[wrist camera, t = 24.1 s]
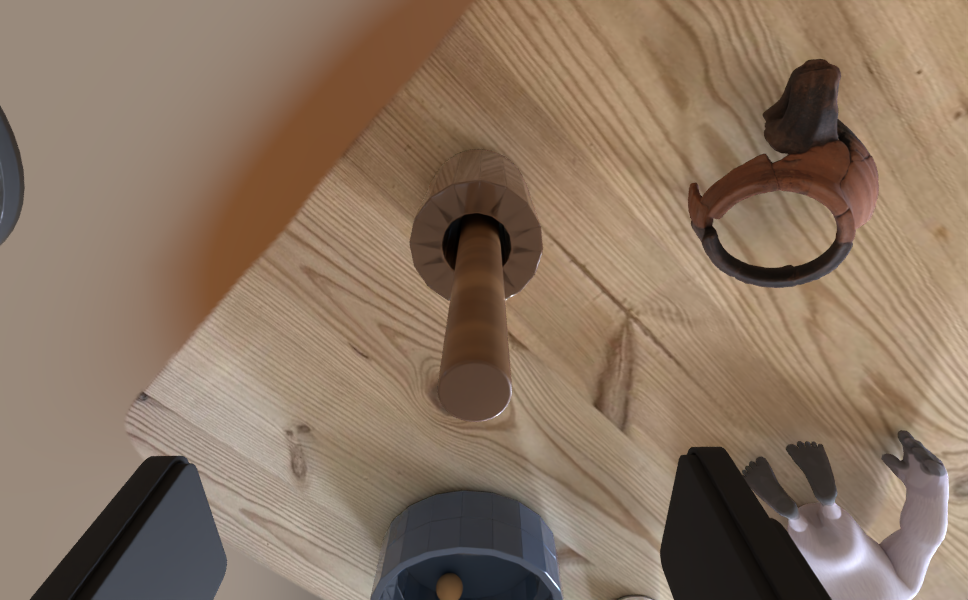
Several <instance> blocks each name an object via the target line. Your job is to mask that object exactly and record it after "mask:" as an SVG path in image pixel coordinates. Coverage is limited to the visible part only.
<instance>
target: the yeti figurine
mask: <svg viewBox="0 0 968 600" xmlns="http://www.w3.org/2000/svg"><path fill="white" fill-rule="evenodd" d="M898 438H899V440H900V442H901V443H902V445H903V452H904V456H903V460H902V461H900V460H899V459H898V458H897V457H895V456H894V455H891V454H884V455H882V460H883V462H884V463H885V464H886V465H887V466H888V467H889V468H890V469H891V470H892V472H893V473H894V474H895V475H896V476H897V477H898V478H899V479H900V480H901V481H902V482H903V483H904V485H905V486H906V501H905V503H904V506H903V509H902V511H901V515H900V527H901V529H899V530H897V531H896V532H894V533H892V534H891V535H890V536H888V537H887V538H885V539H884V540H883V541H882V542H881V543H880V544H878V543H877V542H876V541H874V540H873V539H872V538H870V537H869V536H868V535H866V533H865V532H864V531H863V530H862V528H861V527H860V526H859V524H858V523H857V522H856V521H855V520H854V518H853V517H852V516H851V515H850V514H849V513H848V512H847V511H846V510H844V509H843V508H841V507H840V506H838V505H837V504H836V503H835V498H836V496H837V489H836V485H835V480H834V476H833V473H832V469H831V466H830V463H829V460H828V457H827V455H826V452H825V450H824V447H823V445H822V444H818V447H817V444H816V442H812V443H811V444H810V443H809V442H807V441H806V442H805V445H804V443H803V442H801V441H798V442H797V446H798V447H799V448H798V447H797V446H796V445H793V444H790V445H788V446H787V447H786V450H787V452H788V454H789V455H790V456H791V457H792V459H793V460H794V462H795V463H796V464H797V465H798V466H799V467H800V469H801V470H802V471H803V472H804V474H805V476H806V478H807V480H808V482H809V484H810V486H811V488H812V490H813V493H814V495H815V497H816V499H817V500H818V501H819V502H820V503H808V504H804V505H802V506H801V507H799V508H797V505H796V503H795V502H794V501H793V500H792V499H791V498H790V497H789V496H788V494H787V493H786V492H785V491H784V489H783V488H782V487H781V485H780V484H779V483H778V481H777V479H776V477H775V474H774V472H773V470H772V468H771V467H770V465H769V463H768V462H767V460H766V459H765V458H763V457H758V458H757V459H756V464H757V465H756V464H755V462H753V461H750V462H749V466H750V467H751V468H752V469H751V468H750V467H749V466H746V467H745V469H746V470H747V471H745V470H743V471H742V473H743V474H744V475H745V476H746V477H745V476H744V475H742V476H743V477H744V479H745V481H746V482H747V484H748V485H749V487H750V488H751V489H752V490H753V491H754V492H755V493H756V494H757V495H758V496H759V497H760V498H761V499H762V500H763V501H765V502H766V503H767V504H768V505H769V506H770V507H771V508H773V509H774V510H775V511H776V512H777V513H779V514H780V515H781V516H784V517H787V518H788V528H787V530H788V534H789V535H790V537H791V538H792V540H793V541H794V543H795V544H796V546H797V547H798V549H799V550H800V552H801V553H802V555H803V556H804V558H805V559H806V561H807V562H808V564H809V565H810V567H811V569H812V570H813V572H814V573H815V575H816V576H817V578H818V579H819V581H820V582H821V584H822V585H823V587H824V588H825V590H826V591H827V593H828V594H829V596H830V597H831V599H832V600H911V599H912V598H913V597H914V596H915V595H916V594H917V593H918V591H919V590H920V588H921V586H922V583H923V580H924V576H925V573H926V570H927V568H928V565H929V562H930V559H931V557H932V555H933V554H934V553H935V551H936V549H937V548H938V546H939V545H940V544H941V542H942V541H943V540H944V537H945V534H946V530H947V509H948V494H949V485H948V475H947V471H946V469H945V467H944V465H943V463H942V461H941V460H939V459H938V458H937V457H936V456H935V455H934V454H932V453H931V452H930V451H929V450H928V449H926V448H925V447H924V446H923V445H922V443H921V442H919V441H917V440H915V439H914V438H913V436H912V435H911V434H910V433H909V432H907V431H902V430H901V431H899V432H898ZM811 445H812V446H811ZM805 446H806V447H805Z"/></svg>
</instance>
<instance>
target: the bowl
mask: <svg viewBox="0 0 968 600" xmlns="http://www.w3.org/2000/svg"><path fill="white" fill-rule="evenodd" d="M446 573H454V574H456V575H457V576H458V577H459V578H460V579H461V581H462V584H463V592H462V595H461V597H460V598H459V599H458V600H564V596H563V590H562V583H561V576H560V569H559V562H558V555H557V549H556V545H555V541H554V536H553V533H552V531H551V530H550V529H549V527H548V526H547V525H546V523H545V522H544V521H543V519H542V518H541V517H540V516H539V515H538V514H537V513H535V512H534V511H532V510H531V509H529V508H528V507H526V506H525V505H523V504H522V503H520V502H518V501H517V500H513V499H510V498H507V497H504V496H501V495H498V494H495V493H491V492H477V491H462V490H461V491H455V492H449V493H443V494H437V495H433V496H431V497H429V498H426V499H424V500H422V501H420V502H417V503H415V504H413V505H411V506H409V507H408V508H406V509H405V510H404V511H403V512H402V513H401V514H400V515H398V516H397V517H396V518H395V519H394V520H393V521H392V522H391V524H390V526H389V528H388V530H387V532H386V534H385V536H384V538H383V542H382V546H381V551H380V556H379V560H378V565H377V570H376V575H375V579H374V584H373V588H372V593H371V598H370V600H440V599H439V598H438V596H437V593H436V585H437V582H438V580H439V578H440V577H441V576H442V575H444V574H446Z"/></svg>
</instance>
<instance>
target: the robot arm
mask: <svg viewBox="0 0 968 600" xmlns="http://www.w3.org/2000/svg"><path fill="white" fill-rule="evenodd" d="M660 557H661V564H662V568H663V571H664V574H665V577H666V579H667V582H668V585H669V587H670V590H671V593H672V596H673V598H674V600H832V599H831V597H830V596H829V594H828V593H827V591H826V590H825V588H824V587H823V585H822V584H821V582H820V581H819V579H818V578H817V576H816V575H815V573H814V572H813V570H812V569H811V567H810V565H809V564H808V562H807V561H806V559H805V558H804V556H803V555H802V553H801V552H800V550H799V549H798V547H797V546H796V544H795V543H794V541H793V540H792V538H791V537H790V535H789V534H788V532H787V531H786V529H785V528H784V527H783V526H782V525H781V523H779V522H778V521H777V520H775V519H773V518H769V516H768V515H767V513H766V512H765V510H764V509H763V507H762V505H761V504H760V502H759V501H758V499H757V498H756V496H755V495H754V493H753V491H752V490H751V488H750V487H749V485H748V484H747V482H746V481H745V479H744V477H743V476H742V474H741V473H740V471H739V470H738V468H737V466H736V465H735V463H734V462H733V460H732V459H731V457H730V456H729V454H728V452H727V451H726V450H725V449H724V448H722V447H691V448H690V449H689V450H688V453H687V455H681V456H680V458H679V462H678V466H677V471H676V476H675V481H674V486H673V491H672V495H671V500H670V505H669V510H668V515H667V520H666V524H665V529H664V534H663V539H662V544H661V549H660ZM226 566H227V559H226V555H225V552H224V549H223V546H222V543H221V540H220V537H219V534H218V531H217V528H216V525H215V522H214V519H213V516H212V513H211V510H210V507H209V504H208V501H207V498H206V495H205V492H204V489H203V486H202V483H201V480H200V477H199V474H198V471H197V468H196V466H195V465H194V464H191V463H189V462H188V460H187V458H185V457H184V456H151V457H149V458H147V459H146V460H145V461H144V462H143V463H142V464H141V465H140V466H139V468H138V469H137V470H136V471H135V473H134V474H133V475H132V476H131V477H130V479H129V480H128V481H127V482H126V484H125V485H124V486H123V487H122V488H121V490H120V491H119V492H118V493H117V494H116V496H115V497H114V498H113V499H112V500H111V502H110V503H109V504H108V505H107V506H106V508H105V509H104V510H103V511H102V512H101V514H100V515H99V516H98V517H97V519H96V520H95V521H94V522H93V524H92V525H91V526H90V527H89V528H88V529H87V531H86V532H85V533H84V534H83V536H82V537H81V538H80V539H79V540H78V542H77V543H76V544H75V545H74V546H73V548H72V549H71V550H70V552H69V553H68V554H67V555H66V556H65V558H64V559H63V560H62V561H61V562H60V563H59V565H58V566H57V567H56V568H55V570H54V571H53V572H52V573H51V575H50V576H49V577H48V578H47V579H46V581H45V582H44V583H43V584H42V585H41V587H40V588H39V589H38V590H37V591H36V593H35V594H34V595H33V596H32V597H31V599H30V600H213V599H214V597H215V595H216V593H217V591H218V588H219V586H220V584H221V582H222V580H223V578H224V575H225V572H226Z"/></svg>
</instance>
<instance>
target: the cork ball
mask: <svg viewBox="0 0 968 600" xmlns="http://www.w3.org/2000/svg"><path fill="white" fill-rule="evenodd" d="M462 592H463V584H462V581H461V579H460V578H459V577H458V576H457V575H456V574H454V573H446V574H444V575H442V576H441V577H440V578H439V580H438V582H437V585H436V593H437V596H438V598H439V599H440V600H458V599H459V598H460V597H461V595H462Z"/></svg>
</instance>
